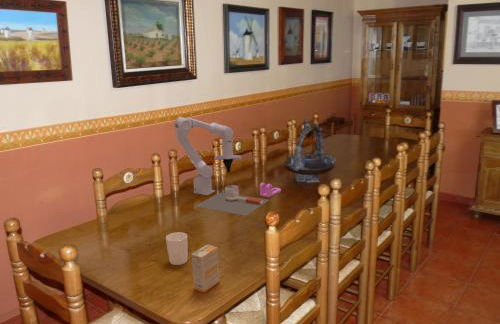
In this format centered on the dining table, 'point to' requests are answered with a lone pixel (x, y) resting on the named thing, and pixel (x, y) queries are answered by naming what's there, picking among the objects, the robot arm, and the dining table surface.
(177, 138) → the robot arm
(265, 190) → the bracket
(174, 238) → the white cup
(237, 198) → the ratchet
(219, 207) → the mat
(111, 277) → the dining table surface
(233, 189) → the pale pink cube
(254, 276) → the dining table surface
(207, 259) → the supplement box
